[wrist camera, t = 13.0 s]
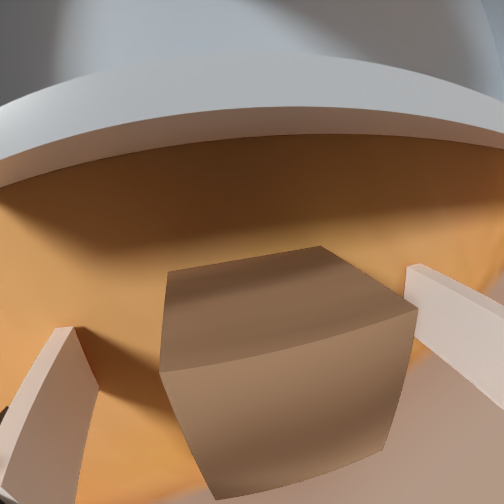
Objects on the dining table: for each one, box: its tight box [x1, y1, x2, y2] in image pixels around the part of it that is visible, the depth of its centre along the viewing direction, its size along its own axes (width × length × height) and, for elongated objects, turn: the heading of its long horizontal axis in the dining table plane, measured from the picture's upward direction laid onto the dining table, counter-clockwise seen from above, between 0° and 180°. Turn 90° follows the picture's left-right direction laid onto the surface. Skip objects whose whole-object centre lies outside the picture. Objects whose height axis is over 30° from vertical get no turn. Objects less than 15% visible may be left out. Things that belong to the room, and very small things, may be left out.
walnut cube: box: [159, 246, 419, 500], centre depth 8 cm, size 5×5×5 cm
